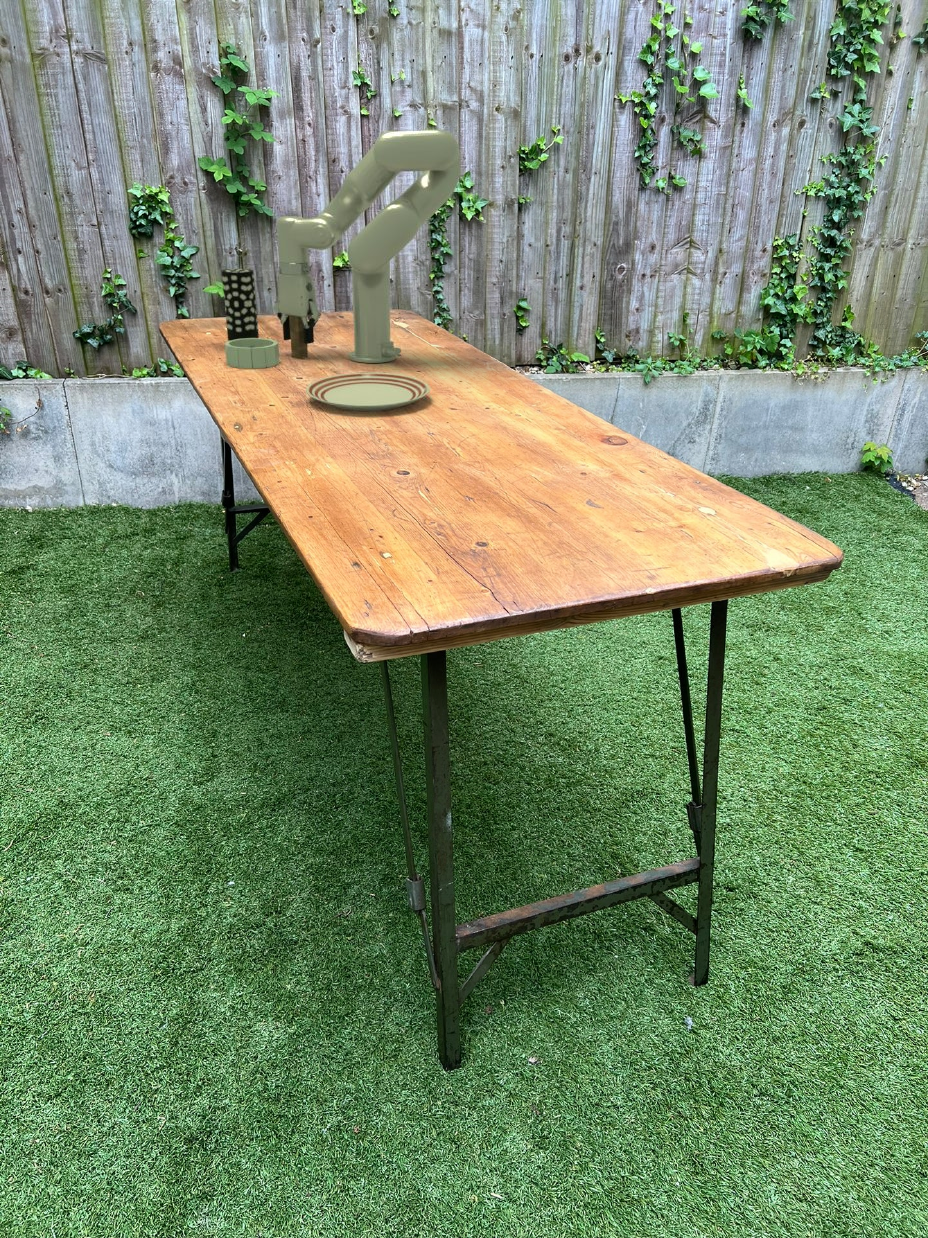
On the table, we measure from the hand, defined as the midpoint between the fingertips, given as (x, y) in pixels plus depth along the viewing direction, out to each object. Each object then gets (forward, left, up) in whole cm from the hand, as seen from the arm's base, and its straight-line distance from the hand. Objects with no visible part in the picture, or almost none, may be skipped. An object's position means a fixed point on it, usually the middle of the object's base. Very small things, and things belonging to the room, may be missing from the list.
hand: (298, 340), depth 240 cm
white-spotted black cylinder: (+20, +1, -4) cm, 21 cm away
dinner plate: (-43, +23, -5) cm, 49 cm away
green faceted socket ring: (+4, +13, -4) cm, 14 cm away
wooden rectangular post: (0, 0, -4) cm, 4 cm away
